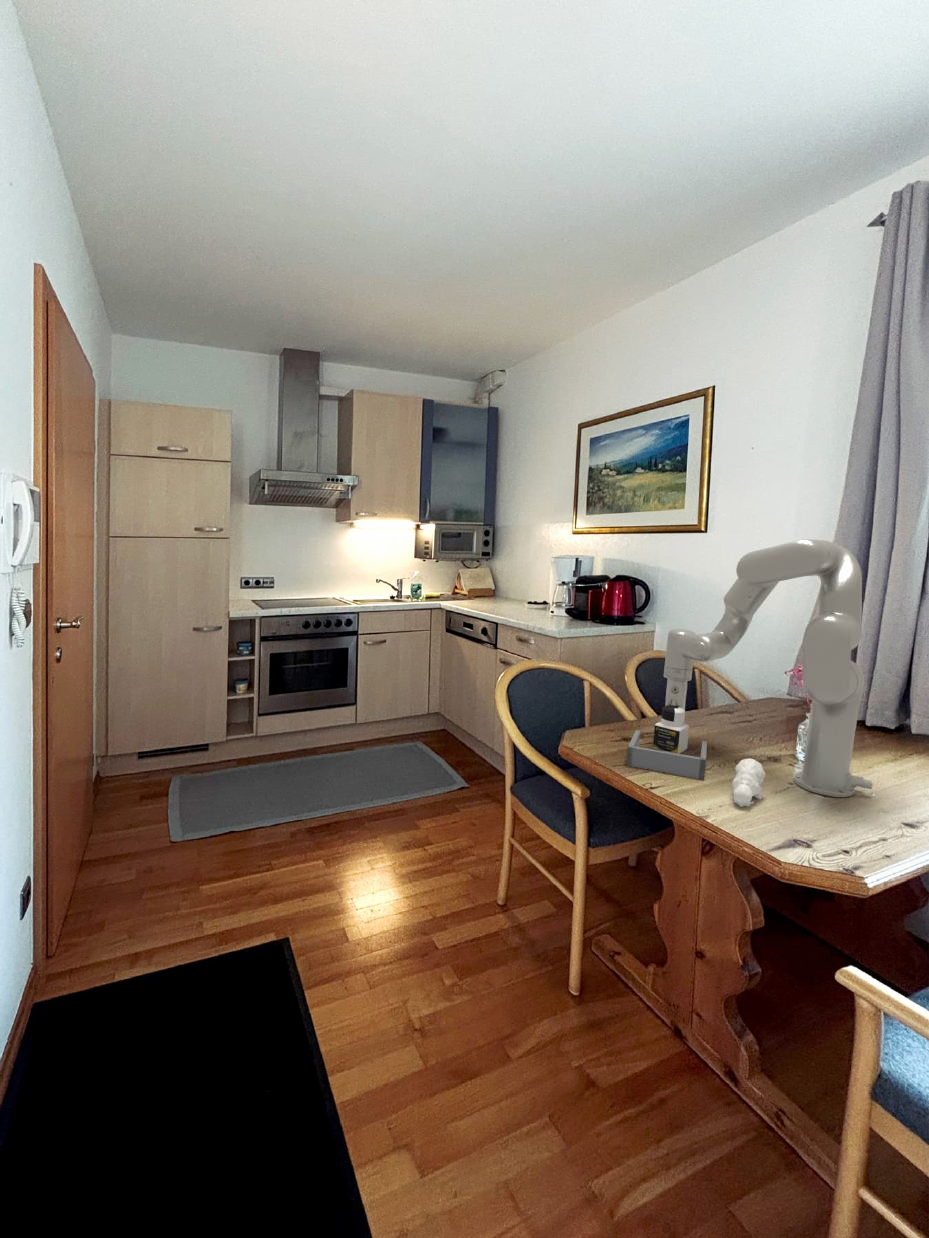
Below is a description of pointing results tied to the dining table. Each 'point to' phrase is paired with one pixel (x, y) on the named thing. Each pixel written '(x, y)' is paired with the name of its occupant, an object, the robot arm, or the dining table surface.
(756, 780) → the white animal figurine
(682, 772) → the box
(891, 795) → the dining table surface
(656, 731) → the medicine bottle
